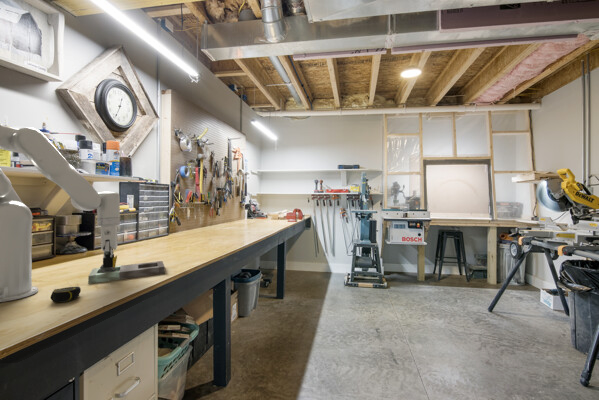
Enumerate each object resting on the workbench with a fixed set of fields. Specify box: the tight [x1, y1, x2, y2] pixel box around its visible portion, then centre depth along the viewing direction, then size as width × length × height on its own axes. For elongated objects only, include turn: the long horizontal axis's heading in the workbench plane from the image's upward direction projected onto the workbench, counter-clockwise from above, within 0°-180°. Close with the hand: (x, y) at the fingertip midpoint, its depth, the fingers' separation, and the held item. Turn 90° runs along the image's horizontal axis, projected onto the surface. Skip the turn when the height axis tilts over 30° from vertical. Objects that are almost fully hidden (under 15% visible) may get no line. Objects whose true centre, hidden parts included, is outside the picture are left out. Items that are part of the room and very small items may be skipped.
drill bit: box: [99, 255, 118, 273], centre depth 109 cm, size 5×5×10 cm
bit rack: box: [87, 260, 166, 285], centre depth 112 cm, size 26×12×3 cm, turn 122°
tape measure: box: [50, 286, 82, 303], centre depth 84 cm, size 7×7×4 cm
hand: (108, 265), depth 108 cm, fingers closed on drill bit, 5 cm apart
